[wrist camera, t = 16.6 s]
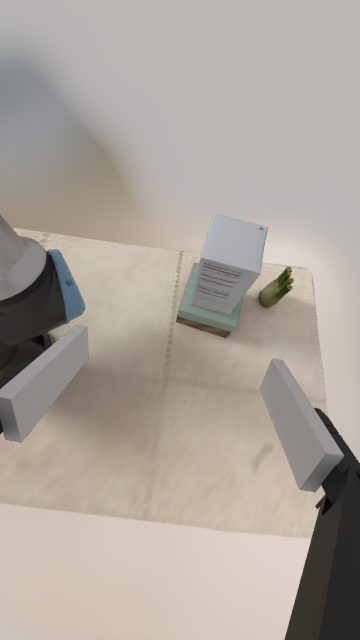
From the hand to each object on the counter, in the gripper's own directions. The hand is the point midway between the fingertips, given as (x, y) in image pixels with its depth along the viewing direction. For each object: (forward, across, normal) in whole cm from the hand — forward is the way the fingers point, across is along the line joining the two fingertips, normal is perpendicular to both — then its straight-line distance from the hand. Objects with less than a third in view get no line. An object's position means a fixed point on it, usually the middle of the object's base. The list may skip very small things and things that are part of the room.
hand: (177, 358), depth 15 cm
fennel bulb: (+42, +22, -7) cm, 48 cm away
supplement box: (+34, +6, -5) cm, 35 cm away
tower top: (+37, +6, -8) cm, 38 cm away
